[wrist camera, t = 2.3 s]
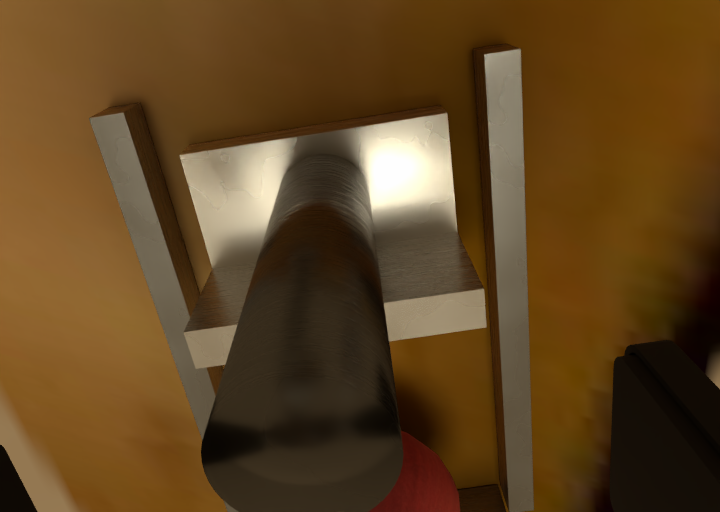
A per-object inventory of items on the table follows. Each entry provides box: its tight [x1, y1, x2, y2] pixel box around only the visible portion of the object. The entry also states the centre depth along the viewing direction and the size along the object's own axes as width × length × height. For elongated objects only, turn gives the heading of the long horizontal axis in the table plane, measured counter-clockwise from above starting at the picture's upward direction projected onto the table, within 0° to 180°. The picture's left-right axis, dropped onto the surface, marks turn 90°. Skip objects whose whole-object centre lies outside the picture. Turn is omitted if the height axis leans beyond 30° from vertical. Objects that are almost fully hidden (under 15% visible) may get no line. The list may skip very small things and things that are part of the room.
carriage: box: [179, 105, 486, 512], centre depth 14 cm, size 5×8×12 cm, turn 98°
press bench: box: [89, 44, 534, 512], centre depth 18 cm, size 20×12×7 cm, turn 9°
